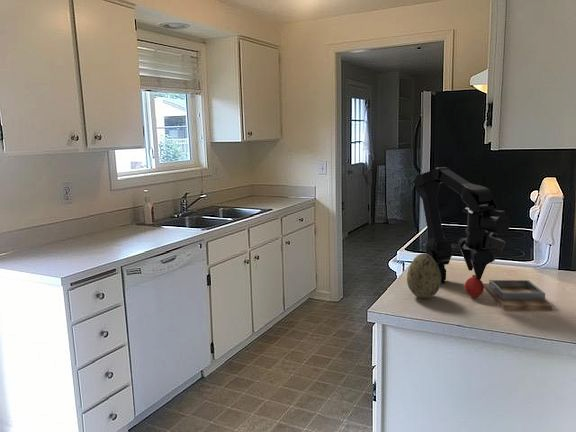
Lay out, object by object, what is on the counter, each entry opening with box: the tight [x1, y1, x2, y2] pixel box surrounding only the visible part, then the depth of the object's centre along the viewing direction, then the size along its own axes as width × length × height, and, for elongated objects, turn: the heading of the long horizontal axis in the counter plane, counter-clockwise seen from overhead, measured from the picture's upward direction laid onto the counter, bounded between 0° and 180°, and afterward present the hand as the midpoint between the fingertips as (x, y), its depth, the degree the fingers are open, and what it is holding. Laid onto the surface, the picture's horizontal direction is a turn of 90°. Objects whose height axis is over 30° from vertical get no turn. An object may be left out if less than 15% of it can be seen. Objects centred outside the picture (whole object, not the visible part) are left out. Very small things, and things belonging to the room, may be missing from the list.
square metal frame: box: [488, 279, 546, 301], centre depth 151 cm, size 13×13×2 cm
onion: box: [464, 274, 485, 299], centre depth 152 cm, size 6×6×8 cm
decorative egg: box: [406, 252, 442, 299], centre depth 153 cm, size 11×11×15 cm
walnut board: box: [482, 282, 553, 311], centre depth 151 cm, size 14×20×2 cm
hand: (474, 274), depth 151 cm, fingers open, 9 cm apart
